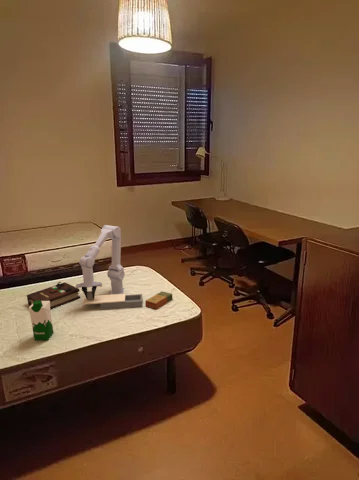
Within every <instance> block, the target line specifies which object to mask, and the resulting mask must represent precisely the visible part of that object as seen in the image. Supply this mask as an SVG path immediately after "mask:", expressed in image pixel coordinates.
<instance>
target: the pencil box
mask: <svg viewBox="0 0 359 480" xmlns="http://www.w3.org/2000/svg"><path fill="white" fill-rule="evenodd" d="M143 299H144V298H143V294H142V293H139V294H137V293H136V294H126V296H125V302H115V303H100V304H99V305H100V310H115V309H116V310H117V309H130V308H142V307H143V305H144V303H143Z"/></svg>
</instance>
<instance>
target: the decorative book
mask: <svg viewBox="0 0 359 480" xmlns="http://www.w3.org/2000/svg"><path fill="white" fill-rule="evenodd" d="M79 294H80V288H76V286H74V285H71V284H69V283H67V282H62V281H58V283H56V285H53V286H49V287H46V288H43V289H41V290H38V291H34V292H31V293H29V294H26V298H27V305H28V304H29V305H28V306H29V307H30V306H31V305H32V303H33V302H34V301H38V300H40V301H50V311H51V310H54V309H56V308H59V307H62V306H65V305H66V304H70V303H72V302H75V301H77V300H80V299H81V296H80V295H79ZM61 305H62V306H61ZM53 308H54V309H53Z"/></svg>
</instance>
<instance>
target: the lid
mask: <svg viewBox="0 0 359 480" xmlns="http://www.w3.org/2000/svg"><path fill="white" fill-rule="evenodd" d="M126 295H127V293H124V294H113V295H111V294H103V295H102V294H101V295H99V294H98V295H95V298H94V299H93V294H92V290H91V291H88V290H87V299H86V296H85V295H84V298H83V300H82V303H81V304H82V305H97V304H99V305H100V303H115V302H125V296H126Z"/></svg>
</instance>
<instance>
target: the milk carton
mask: <svg viewBox="0 0 359 480" xmlns="http://www.w3.org/2000/svg"><path fill="white" fill-rule="evenodd" d="M28 311H29V315H30V320H31V327H32V332H33V333H32V334H33V339H34V341H49V340H50V339H49V338H51V337H52V336H53V334H54V327H53V320H52V319H53V318H52V313H51V312H52V311H51V310H50V301H40V300H38V301H34V302H33V303H32V305H31V306H30V305H29V307H28Z"/></svg>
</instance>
